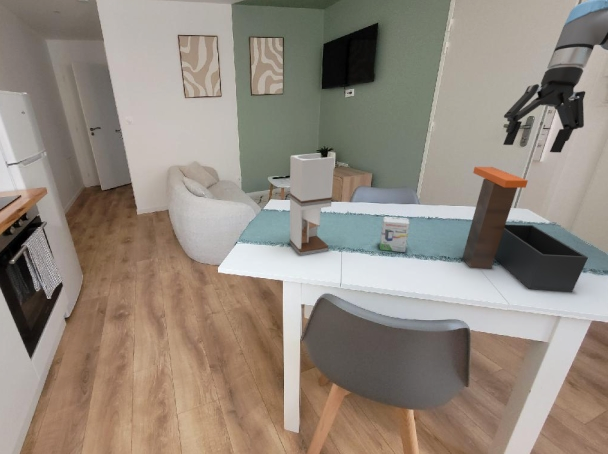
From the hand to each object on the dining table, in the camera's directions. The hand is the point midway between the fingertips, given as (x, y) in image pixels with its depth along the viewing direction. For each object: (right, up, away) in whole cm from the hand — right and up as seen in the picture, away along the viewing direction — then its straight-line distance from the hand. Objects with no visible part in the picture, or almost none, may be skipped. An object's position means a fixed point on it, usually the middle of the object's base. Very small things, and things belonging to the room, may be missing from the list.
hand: (531, 148), depth 86 cm
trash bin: (+4, -37, +6) cm, 38 cm away
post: (-7, -35, +11) cm, 38 cm away
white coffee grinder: (-60, -31, +28) cm, 73 cm away
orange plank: (-8, -9, +2) cm, 12 cm away
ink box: (-30, -31, +24) cm, 49 cm away
